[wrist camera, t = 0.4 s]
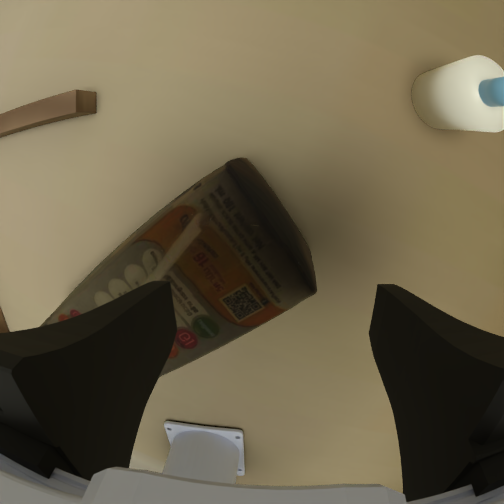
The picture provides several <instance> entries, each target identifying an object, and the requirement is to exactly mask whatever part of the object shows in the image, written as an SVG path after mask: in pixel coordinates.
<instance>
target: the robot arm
mask: <svg viewBox="0 0 504 504" xmlns="http://www.w3.org/2000/svg"><path fill="white" fill-rule="evenodd" d="M176 333H177V324H176V317H175V311H174V304H173V297H172V290H171V283H170V281H151V282H149V283H146V284H144V285H142V286H140V287H138V288H136V289H134V290H132V291H130V292H128V293H126V294H124V295H122V296H120V297H118V298H116V299H114V300H112V301H110V302H108V303H106V304H103V305H101V306H99V307H97V308H95V309H93V310H91V311H88V312H86V313H83V314H81V315H78V316H75V317H72V318H70V319H67V320H64V321H60V322H57V323H53V324H49V325H45V326H42V327H38V328H33V329H27V330H21V331H15V332H6V333H0V504H504V337H501V336H498V335H495V334H492V333H489V332H486V331H483V330H481V329H478V328H476V327H474V326H471V325H469V324H467V323H464V322H462V321H460V320H458V319H456V318H454V317H452V316H450V315H448V314H447V313H445V312H443V311H441V310H439V309H438V308H436V307H434V306H432V305H431V304H429V303H427V302H426V301H424V300H422V299H421V298H419V297H417V296H415V295H414V294H412V293H410V292H409V291H407V290H405V289H403V288H401V287H399V286H397V285H395V284H378V285H377V292H376V298H375V304H374V309H373V315H372V320H371V325H370V330H369V337H370V342H371V347H372V351H373V356H374V359H375V362H376V364H377V367H378V370H379V373H380V375H381V378H382V381H383V384H384V386H385V389H386V392H387V395H388V398H389V400H390V403H391V407H392V410H393V414H394V419H395V424H396V429H397V435H398V441H399V448H400V456H401V466H402V479H403V494H402V493H400V492H397V491H395V490H392V489H390V488H388V487H385V486H383V485H380V484H334V485H317V486H261V485H243V484H235V483H236V476H237V475H240V476H242V475H244V474H245V465H244V441H243V431H242V430H239V429H229V428H218V427H209V426H200V425H193V424H185V423H179V422H172V421H165V423H164V427H165V430H166V433H167V436H168V439H169V442H170V445H171V448H170V451H169V454H168V457H167V460H166V463H165V466H164V469H163V472H162V473H157V472H152V471H148V470H138V469H130V468H129V464H130V459H131V455H132V450H133V446H134V443H135V439H136V435H137V432H138V428H139V425H140V422H141V418H142V415H143V412H144V409H145V406H146V404H147V401H148V399H149V397H150V394H151V392H152V390H153V388H154V386H155V384H156V382H157V380H158V378H159V376H160V374H161V372H162V370H163V367H164V365H165V363H166V361H167V359H168V357H169V355H170V352H171V350H172V347H173V343H174V340H175V337H176Z"/></svg>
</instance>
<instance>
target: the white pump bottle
mask: <svg viewBox="0 0 504 504" xmlns="http://www.w3.org/2000/svg"><path fill="white" fill-rule="evenodd" d="M411 96H412V103H413V106H414V109H415V111H416V113H417V114H418V116H419V117H420V118H421V120H422V121H423V122H424V123H426V124H427V125H429V126H430V127H432V128H435V129H441V130H466V131H483V132H500V131H502V130H504V71H503V70H502V68H501V67H500V66H499V65H498V64H497V63H496V62H494V61H493V60H491V59H490V58H487V57H485V56H480V55H475V56H471V57H468V58H465V59H462V60H459V61H456V62H453V63H450V64H447V65H444V66H441V67H438V68H436V69H433V70H430V71H427V72H425V73H423V74H421V75H419V76H418V77H417V78H416V80H415V81H414V84H413V87H412V93H411Z"/></svg>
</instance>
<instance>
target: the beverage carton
mask: <svg viewBox="0 0 504 504" xmlns="http://www.w3.org/2000/svg"><path fill="white" fill-rule="evenodd" d="M151 281H170V283H171V290H172V297H173V304H174V311H175V317H176V324H177V333H176V337H175V340H174V343H173V347H172V350H171V352H170V355H169V357H168V359H167V361H166V363H165V365H164V367H163V370H162V372H161V374H160V376H159V377H161V376H162V375H164V374H167V373H169V372H171V371H173V370H175V369H178V368H180V367H182V366H184V365H186V364H188V363H190V362H192V361H194V360H196V359H198V358H200V357H202V356H204V355H206V354H208V353H210V352H212V351H214V350H216V349H218V348H220V347H222V346H224V345H225V344H227V343H229V342H231V341H233V340H235V339H237V338H239V337H241V336H242V335H244V334H246V333H248V332H250V331H252V330H253V329H255V328H257V327H259V326H261V325H262V324H264V323H266V322H268V321H270V320H271V319H273V318H275V317H277V316H278V315H280V314H282V313H284V312H285V311H287V310H289V309H291V308H292V307H294V306H295V305H297V304H298V303H300V302H301V301H303V300H305V299H306V298H308V297H310V296H312V295H314V294H315V293H316V292H317V287H316V278H315V271H314V266H313V262H312V256H311V252H310V250H309V248H308V246H307V244H306V242H305V240H304V239H303V237H302V235H301V234H300V232H299V230H298V228H297V227H296V225H295V224H294V222H293V221H292V219H291V217H290V216H289V214H288V213H287V211H286V210H285V208H284V207H283V205H282V204H281V202H280V201H279V199H278V198H277V196H276V195H275V194H274V192H273V191H272V189H271V188H270V187H269V185H268V184H267V183H266V181H265V180H264V179H263V177H262V176H261V175H260V174H259V172H258V171H257V170H256V169H255V167H254V166H253V165H252V164H251V163H250V162H249V161H248V160H247V159H246V158H237V159H234V160H230V161H228V162H227V163H226V164H225V165H224V166H222V167H220V168H218V169H216V170H215V171H213V172H212V173H211V174H209V175H207V176H206V177H204V178H203V179H201V180H200V181H198V182H197V183H196V184H194V185H193V186H191V187H190V188H189V189H187V190H186V191H185V192H183V193H182V194H181V195H179V196H178V197H177V198H175V199H174V200H173V201H172V202H170V203H169V204H168V205H167V206H165V207H164V208H163V209H161V210H160V211H159V212H158V213H156V214H155V215H154V216H153V217H152V218H150V219H149V220H148V221H147V222H146V223H144V224H143V225H142V226H141V227H140V228H139V229H137V230H136V231H135V232H134V233H133V234H132V235H131V236H130V237H128V238H127V239H126V240H125V241H124V242H123V243H122V244H121V245H120V246H118V247H117V248H116V249H115V250H114V251H113V252H112V253H111V254H110V255H108V256H107V257H106V258H105V259H104V260H103V261H102V262H101V263H100V264H99V265H98V266H97V267H96V268H95V269H94V270H93V271H92V272H91V273H90V274H89V275H88V276H87V277H86V278H85V279H84V280H83V281H82V282H81V283H80V284H79V285H78V286H77V287H76V288H75V289H74V291H73V292H72V293H71V294H70V295H69V296H68V297H67V298H66V299H65V300H64V301H63V302H62V303H61V305H60V306H59V307H58V308H57V309H56V310H55V311H54V312H53V313H52V314H51V316H50V317H49V318H47V319H46V320H45V322H44V323H43V324H42V325H41V326H40V327H42V326H45V325H49V324H53V323H57V322H60V321H64V320H67V319H70V318H72V317H75V316H78V315H81V314H83V313H86V312H88V311H91V310H93V309H95V308H97V307H99V306H101V305H103V304H106V303H108V302H110V301H112V300H114V299H116V298H118V297H120V296H122V295H124V294H126V293H128V292H130V291H132V290H134V289H136V288H138V287H140V286H142V285H144V284H146V283H149V282H151Z"/></svg>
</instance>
